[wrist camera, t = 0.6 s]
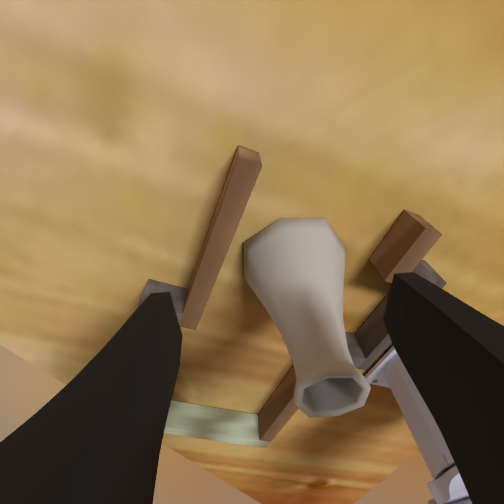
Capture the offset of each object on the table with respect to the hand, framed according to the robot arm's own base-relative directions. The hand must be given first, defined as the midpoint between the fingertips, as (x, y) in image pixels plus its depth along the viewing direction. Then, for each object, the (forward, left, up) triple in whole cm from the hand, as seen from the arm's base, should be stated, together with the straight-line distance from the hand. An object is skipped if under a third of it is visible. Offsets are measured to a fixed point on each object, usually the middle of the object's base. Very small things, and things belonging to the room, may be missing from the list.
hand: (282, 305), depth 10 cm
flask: (-4, +4, -10) cm, 11 cm away
